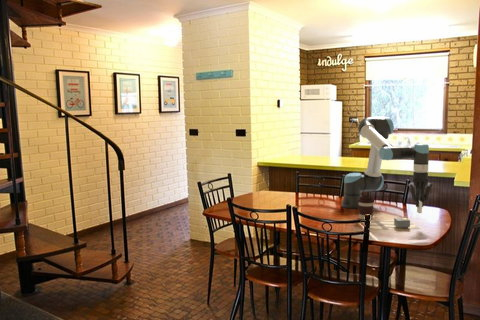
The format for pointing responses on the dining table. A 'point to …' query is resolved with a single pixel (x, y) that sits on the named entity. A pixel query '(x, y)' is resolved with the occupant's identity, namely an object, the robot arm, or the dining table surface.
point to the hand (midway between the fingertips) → (419, 212)
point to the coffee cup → (365, 206)
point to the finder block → (401, 222)
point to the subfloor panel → (387, 225)
